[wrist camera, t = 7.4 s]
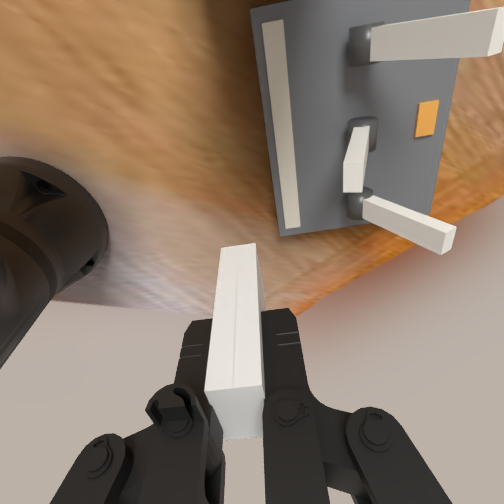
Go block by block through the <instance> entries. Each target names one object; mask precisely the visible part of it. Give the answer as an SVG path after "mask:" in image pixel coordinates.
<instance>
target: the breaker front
mask: <svg viewBox="0 0 504 504" xmlns="http://www.w3.org/2000/svg"><path fill="white" fill-rule="evenodd" d="M503 42H504V7H498V8H491V9H485V10H478V11H472V12H465V13H459V14H452V15H446V16H439V17H433V18H426V19H420V20H413V21H406V22H400V23H393V24H387V25H385V21H382V22H376V23H370V24H365V25H360V26H355V27H350V28H349V59H348V66H349V67H357V66H365V65H371V64H376V63H379V62H382V61H395V60H418V59H442V58H465V57H487V56H490V55H494V54H497V53H500V52H501V50H502V46H503Z"/></svg>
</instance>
